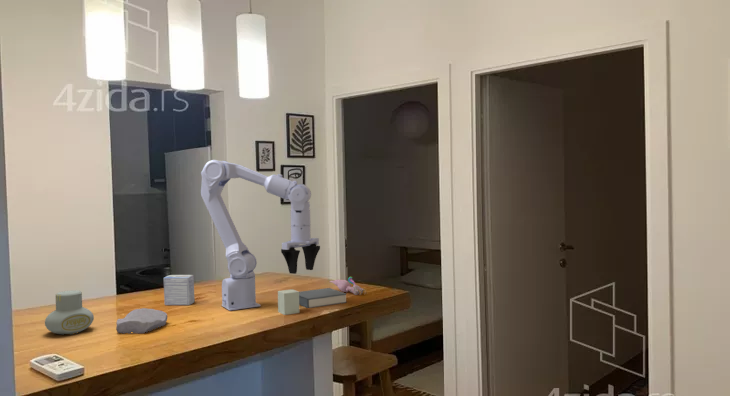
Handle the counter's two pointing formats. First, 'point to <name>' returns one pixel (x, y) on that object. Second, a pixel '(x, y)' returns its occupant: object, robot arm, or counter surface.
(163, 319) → the stone block
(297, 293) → the sage block
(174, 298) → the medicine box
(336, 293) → the book
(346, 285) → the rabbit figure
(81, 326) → the air freshener
